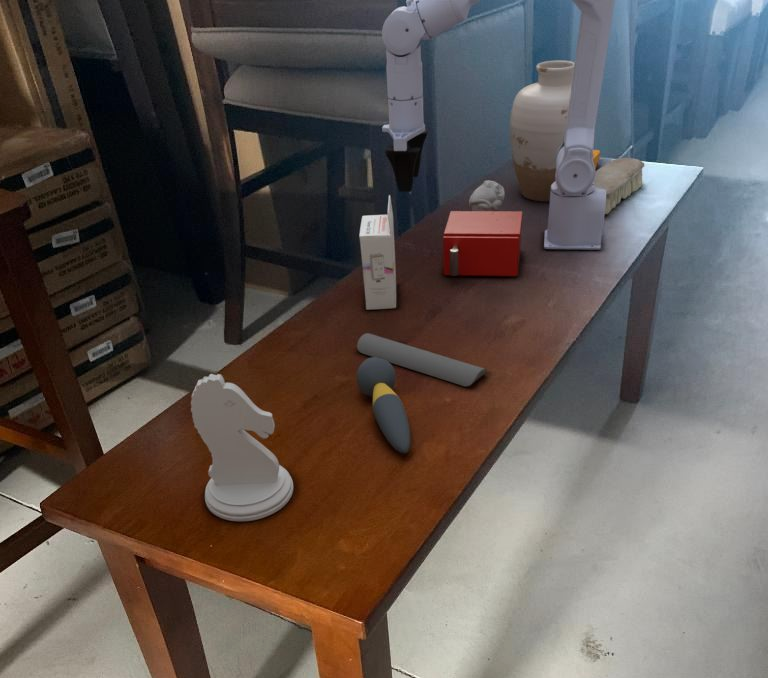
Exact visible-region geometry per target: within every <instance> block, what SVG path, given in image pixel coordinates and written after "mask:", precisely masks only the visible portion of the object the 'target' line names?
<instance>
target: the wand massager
mask: <svg viewBox="0 0 768 678" xmlns="http://www.w3.org/2000/svg"><path fill="white" fill-rule="evenodd" d="M396 377H397V376H396V370H395V368H394V366H393V365H392V363H391V362H388V361H386V360H384V359H381V358H377V357H372V356H371V357H368V358H366V359H365V360H363V362H361V364H360V365H359V366H358V369H357V373H356V383H357V386H358V388H359V389H360V391H361V392H362V394H364V395H366V396H368V397H370V398H372V412H373V415H374V418H375V420H376V423H377V425H378V426H379V428H380V431H381V432H382V434H383V436H384V437H385V439H386V440H387V442H388V443H389V444H390V445H391V447H392V448H393V449H394V450H395V451H397V452H398V453H401V454H407V453H408V452H409V450H410V447H411V441H412V440H411V429H410V424H409V419H408V415H407V413H406V409H405V406H404V404H403V401H402V400H401V398H400V396H399V395H398V393H396V392H395V391H394V390H393V389H394V387H395V385H396V379H397V378H396Z"/></svg>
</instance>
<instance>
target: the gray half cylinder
mask: <svg viewBox="0 0 768 678" xmlns="http://www.w3.org/2000/svg"><path fill="white" fill-rule="evenodd" d="M356 343H357V344H356V348H357V351H358V352H359V353H361V354H363V355H367V356H369V357H371V358H372V357H377V358H381V359H384V360H386V361H388V362H389V363H390V364H393V365H397V366H400V367H403V368H407V369H409V370H413V371H415V372H418V373H421V374H425V375H428V376H431V377H435V378H436V379H440V380H443V381H446V382H449V383H453V384H456V385H459V386H462V387H470V386H471V385H473V384H474V383H475V382H476V381H478V380H479V379H480V378H481V377H482V376H484V375H485V374H487V371H488V370H487V369H486V368H483V367H481V366H477V365H475V364H470V363H467V362H464V361H461V360H458V359H454V358H452V357H448V356H444V355H441V354H438V353H434V352H431V351H429V350H424V349H422V348H418V347H415V346H411V345H408V344H405V343H401V342H398V341H395V340H393V339H389V338H386V337H382V336H379V335H377V334H376V335H375V334H372V333H370V332H368V333H367V332H366V333H364V334H362V335H361V336H360V337H359V338H358V341H357V342H356Z"/></svg>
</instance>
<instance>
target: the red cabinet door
mask: <svg viewBox="0 0 768 678" xmlns="http://www.w3.org/2000/svg"><path fill="white" fill-rule="evenodd" d="M442 243H443V244H442V245H443V246H442V247H443V248H442V250H443V253H442V255H443V258H442V259H443V261H442V262H443V275H444V276H451V277H456V276H457V275H497V276H496V277H517V276H516V273H517V255H518V237H497V236H444V235H443V237H442Z"/></svg>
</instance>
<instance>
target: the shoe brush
mask: <svg viewBox="0 0 768 678" xmlns="http://www.w3.org/2000/svg"><path fill="white" fill-rule="evenodd" d="M644 167H645V162H644V161H642V160H640V159H637V158H633V157H619V158H615V159H614V160H612V161H609V162H607V163H606V164H605V165H603V166H600V168H599V169H597V170H595V179H594V182H593V183H594V184H595V188H598V189H605V190H606V206H605V215H608V214H609V213H611V211H612V210H613V209H615V208H616V206H617V205H620V203H621V199H623V200H625V199H627V198H628V197H630V196H631V194H632V193H634V192H636V191H638V190H639V189H640V188H642V186H643V168H644Z"/></svg>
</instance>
